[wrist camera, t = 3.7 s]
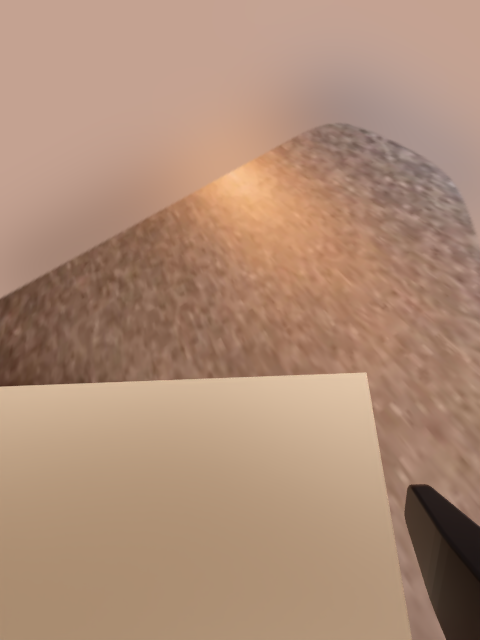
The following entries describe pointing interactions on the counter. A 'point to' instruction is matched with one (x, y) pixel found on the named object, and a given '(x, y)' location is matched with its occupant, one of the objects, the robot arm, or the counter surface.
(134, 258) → the counter surface
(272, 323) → the counter surface
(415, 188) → the counter surface
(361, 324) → the counter surface
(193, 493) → the birch block
